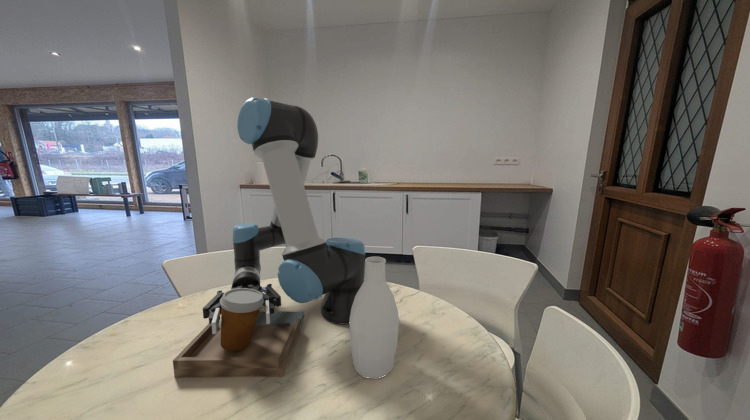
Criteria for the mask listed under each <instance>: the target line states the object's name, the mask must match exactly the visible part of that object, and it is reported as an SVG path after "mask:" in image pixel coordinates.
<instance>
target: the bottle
mask: <svg viewBox="0 0 750 420" xmlns="http://www.w3.org/2000/svg"><path fill="white" fill-rule="evenodd" d="M386 263H387V259H386V258H385V257H381V256H369V257H366V258H365V273H364V282H363V284H362V285H361V287H360V289H359V290H358V292H357V294H356V296H355V299H354V302H353V305H352V308H351V313H350V319H349V322H350V323H349V338H350V339H349V341H350V342H349V343H350V350H351V357H352V364H353V368H354V369H355V372H356V373H357V374H358V375H360V376H361V375H362V376H361V377H363V376H364V377H363V378H365V377H369V378H379V377H382V376H384V375H386V374H387V375H388V373H389V372H390V373H391V372H392V370H393V367H394V363H395V359H396V353H397V348H398V339H399V330H400V329H399V328H400V318H399V311H398V306H397V303H396V299H395V295H394V293H393V292H392V290H391V289H390V286H389V284H388V283H387V280H386ZM390 373H389V374H390ZM387 375H386V376H387ZM382 378H383V377H382Z"/></svg>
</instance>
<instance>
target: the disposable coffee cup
mask: <svg viewBox="0 0 750 420" xmlns="http://www.w3.org/2000/svg"><path fill="white" fill-rule="evenodd" d="M262 293H263V292H262ZM262 293H261V292H259V291H257V290H254V289H249V288H236V289H231V288H230V289H229V290H228V289H227V290H226V291H224V294H223V297H222V298H221V299H220V304H221V315H220V321H221V347H222V348H223V349H225V350H229V351H237V350H241V349H244V348H246V347H247V346H248V345H249V343H250V339H251V336H252V333H253V330H254V327H255V324H256V321H257V317H258V314H259V312H261V307H262V306H264V305H263V303H264V299H263V295H262Z"/></svg>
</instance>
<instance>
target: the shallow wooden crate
mask: <svg viewBox="0 0 750 420" xmlns="http://www.w3.org/2000/svg"><path fill="white" fill-rule="evenodd" d="M304 318H305V311H301V310H299V311H298V310H297V311H295V310H294V311H286V310H285V311H274V313H272V314H270V324H266V311H259V314H258V317H257V321H256V324H255V327H254V330H253V333H252V336H251V339H250V343H249V345H248V346H247V347H246V348H244V349H241V350H237V351H229V350H225V349H223V348H222V347H221V320H220V322H219V326H218V329H217V333H216V334H212V324H209V323H208V324H207V325H206V326H205V327H204V328H203V329H202V330H201V331H200V332H199V333H198V334H197V335H196V336H195V337H194V338H193V339H192V340H191V341H190V342H189V343H188V344H187V345H186V346H185V347H184V348H183V350H181V351H180V352H179V354H178V355H177V356H175V358H173V359H172V366H173V368H172V369H173V375H174V376H173V377H174V378H221V377H222V378H235V377H236V378H238V377H240V378H245V377H246V378H249V377H254V378H255V377H256V378H257V377H284V376H285V374H286V371H287V369H288V366H289V364H290V361H291V358H292V355H293V353H294V351H295V348H296V345H297V342H298V340H299V337H300V335H301V333H302V332H301V330H302V329H301V328H302V327H301V325H302V323H303V320H304Z"/></svg>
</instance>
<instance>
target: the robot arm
mask: <svg viewBox="0 0 750 420" xmlns="http://www.w3.org/2000/svg"><path fill="white" fill-rule="evenodd" d="M236 121H237V125H236V126H237V134H238V137H239V138H240V139H241V141H242V142H244V143H245V144H247V145H251V147H252V151H253V153H254V155H255V157H257V158H259V159H261V160H262V163H263V167H264V171H265V175H266V178H267V182H268V185H269V189H270V192H271V195H272V196H271V197H272V200H273V203H274V209H273V211H272V212H273V213H272V217H271V220H270V224H269V225H266V226H261V227H259V225H258V224H256V223H250V222H249V223H240V224H236V225H235V226H234V227H233V229H232V245H233V254H234V257H233V258H234V276H233V279H232V284H231V287H230V290H231V289H236V288H249V289H254V290H257V291H259V292H261V293H262V295H263V299H264V303H263V305H262V306H264V307H265V312H266V324H270V314H272V313H274V312H275V307H277V308H278V307H281V306H282V296H281V295H280V294H279V293H278V292H277V291H276V290H275V289H274V288H273V286H272V283H268V284H267V285H265V286H262V285H261V270H262V269H261V267H262V266H261V259H260V258H261V257H260V256H261V254H260V252H261V251H263V250H267V249H270V248H274V247H277V246H281V245H285V247H284V248H285V249H284V250H283V252H282V253H281V255H282V259H283V261H282V262H281V263H280V264H279V266H278V269H277V270H278V271H277V279H278V283H279V285H280V288H281V289H282V291H283V292H284V294H285V295H286V296H287V297H289V298H290V300H292V301H293V302H296V303H299V304H308V303H310V302H312V301H314V300H317V299H320V298H321V297H322V296H323V298H322V300H321V305H320V314H321V317H323V319H325V320H326V321H328V322H330V323H333V322H334V324H338V323H349V319H350V313H351V308H352V305H353V302H354V299H355V296H356V294H357V292H358V290H359V289H360V287H361V285H362V284H363V282H364V281H365V266H366V263H365V259H366V258H365V257H366V251H365V250H366V249H365V244H364V242H363V241H361V240H359V239H356V238H355V239H354V238H349V237H330V238H327V239H326V240H324V239H323V238H321V237H320V236H319V233H318V230H317V227H316V223H315V220H314V215H313V212H312V209H311V205H310V203H309V199H308V194H307V192H306V189H305V182H306V179H307V176H308V175H307V174H308V171H309V167H310V164H311V161H312V160H314V159H315V158H316V155H317V151H318V148H319V147H318V146H319V133H318V127H317V124H316V121H315V119H314V118H313V116H312V115H311V113H309V112H308V111H307V110H306V109H305V108H303V107H301V106H297V105H292V104H288V103H283V102H278V101H273V100H270V99H269V98H266V97H264V98H261V97H251V98H248V99H247V100H246V101H244V103H243V104H242V106H241V107H240V110H239V112H238V115H237V120H236ZM224 293H225V291H223V290H217V292H216V294H215V296H213V297H212V298H211V299H210V300H209V301H208V302H207V303H206V304H205V305H204V306H203V307H202V316H203V317H202V318H203V319H208V324H212V334H216V333H217V329H218V326H219V322H220V321H221V304H220V299H221V298H222V297H223V294H224ZM349 324H350V323H349Z"/></svg>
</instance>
